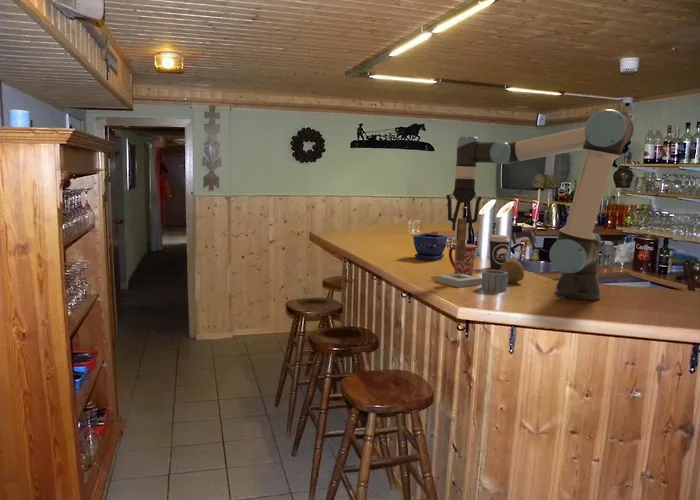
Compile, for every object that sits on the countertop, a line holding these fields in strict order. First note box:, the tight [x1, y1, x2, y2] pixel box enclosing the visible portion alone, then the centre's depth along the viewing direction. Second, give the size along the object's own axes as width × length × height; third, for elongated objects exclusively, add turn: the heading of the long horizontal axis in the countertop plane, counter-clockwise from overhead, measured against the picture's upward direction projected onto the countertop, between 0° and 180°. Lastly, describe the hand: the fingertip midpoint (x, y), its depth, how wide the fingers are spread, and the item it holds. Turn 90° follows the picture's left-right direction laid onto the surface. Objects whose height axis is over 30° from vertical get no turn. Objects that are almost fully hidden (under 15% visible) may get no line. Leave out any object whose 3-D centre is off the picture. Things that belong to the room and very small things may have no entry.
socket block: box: [436, 272, 482, 288], centre depth 211 cm, size 12×12×3 cm
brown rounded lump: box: [500, 258, 525, 284], centre depth 216 cm, size 9×9×10 cm
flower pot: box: [413, 232, 448, 262], centre depth 271 cm, size 13×13×12 cm
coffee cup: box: [488, 234, 511, 271], centre depth 249 cm, size 10×10×15 cm
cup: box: [480, 269, 508, 293], centre depth 202 cm, size 9×9×7 cm
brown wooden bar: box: [454, 217, 468, 261], centre depth 209 cm, size 4×4×16 cm
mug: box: [448, 243, 478, 276], centre depth 227 cm, size 13×9×14 cm
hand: (461, 239), depth 209 cm, fingers closed on brown wooden bar, 3 cm apart
